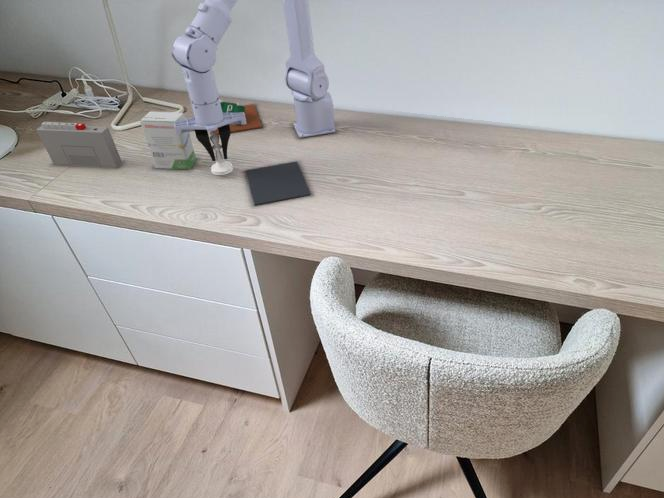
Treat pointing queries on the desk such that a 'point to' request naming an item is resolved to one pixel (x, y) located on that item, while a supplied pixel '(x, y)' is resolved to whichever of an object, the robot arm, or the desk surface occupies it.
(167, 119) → the ink box
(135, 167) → the desk surface
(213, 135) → the chess piece
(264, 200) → the slate mat
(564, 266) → the desk surface
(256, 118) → the cork mat
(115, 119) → the desk surface
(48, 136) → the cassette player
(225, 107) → the gaming controller
